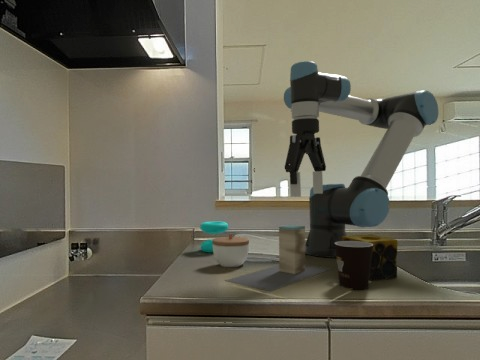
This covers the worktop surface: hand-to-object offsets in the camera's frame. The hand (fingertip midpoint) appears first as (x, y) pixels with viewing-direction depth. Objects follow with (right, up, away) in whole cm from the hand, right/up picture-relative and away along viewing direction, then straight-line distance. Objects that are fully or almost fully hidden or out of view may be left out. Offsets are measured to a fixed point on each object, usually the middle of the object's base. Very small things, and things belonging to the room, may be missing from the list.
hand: (307, 195), depth 109 cm
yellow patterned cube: (+15, -21, -8) cm, 27 cm away
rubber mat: (-8, -21, -8) cm, 24 cm away
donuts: (-28, -21, +29) cm, 45 cm away
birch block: (-5, -20, -4) cm, 21 cm away
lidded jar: (-22, -21, +4) cm, 30 cm away
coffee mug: (+8, -21, -17) cm, 28 cm away
